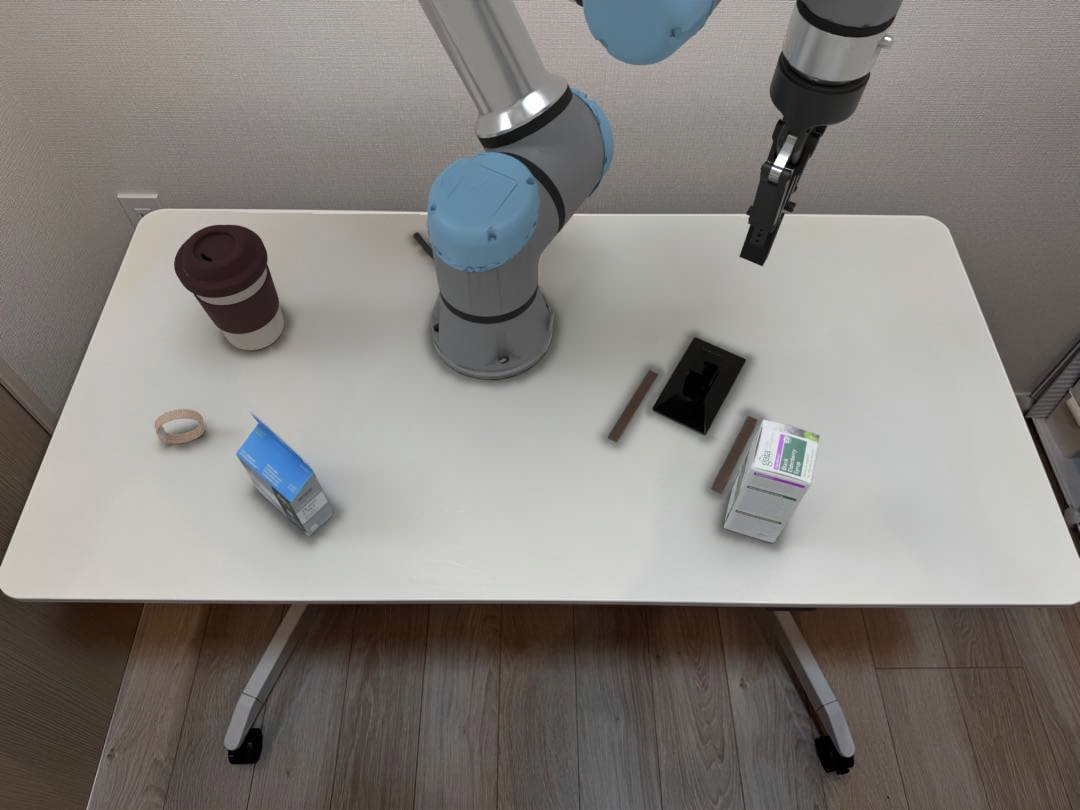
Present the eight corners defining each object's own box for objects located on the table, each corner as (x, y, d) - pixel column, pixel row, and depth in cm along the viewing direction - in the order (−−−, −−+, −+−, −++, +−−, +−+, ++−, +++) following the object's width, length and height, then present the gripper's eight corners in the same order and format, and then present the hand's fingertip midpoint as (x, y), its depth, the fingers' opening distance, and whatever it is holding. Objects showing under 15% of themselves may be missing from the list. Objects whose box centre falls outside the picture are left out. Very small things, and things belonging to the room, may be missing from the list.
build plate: (705, 436, 89) (712, 416, 85) (648, 409, 91) (653, 388, 87) (746, 360, 95) (755, 338, 91) (692, 337, 97) (698, 314, 93)
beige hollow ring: (167, 434, 89) (148, 412, 85) (208, 421, 90) (192, 399, 86) (169, 453, 88) (151, 431, 83) (212, 440, 89) (195, 418, 84)
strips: (607, 437, 89) (607, 436, 89) (649, 370, 94) (649, 369, 94) (720, 493, 85) (721, 493, 85) (757, 420, 90) (758, 419, 90)
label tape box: (256, 490, 85) (217, 435, 75) (285, 465, 87) (250, 408, 76) (309, 538, 82) (276, 488, 72) (337, 511, 84) (309, 459, 73)
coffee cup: (289, 291, 101) (253, 205, 88) (301, 349, 96) (265, 267, 83) (212, 309, 99) (164, 224, 86) (220, 369, 94) (171, 289, 81)
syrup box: (774, 545, 82) (816, 485, 70) (720, 528, 83) (751, 466, 71) (783, 499, 85) (824, 433, 73) (730, 483, 86) (762, 416, 74)
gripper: (845, 119, 59) (763, 311, 79) (894, 33, 65) (806, 232, 85) (754, 87, 61) (697, 283, 81) (810, 6, 67) (743, 207, 87)
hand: (753, 257), depth 83 cm, fingers closed
